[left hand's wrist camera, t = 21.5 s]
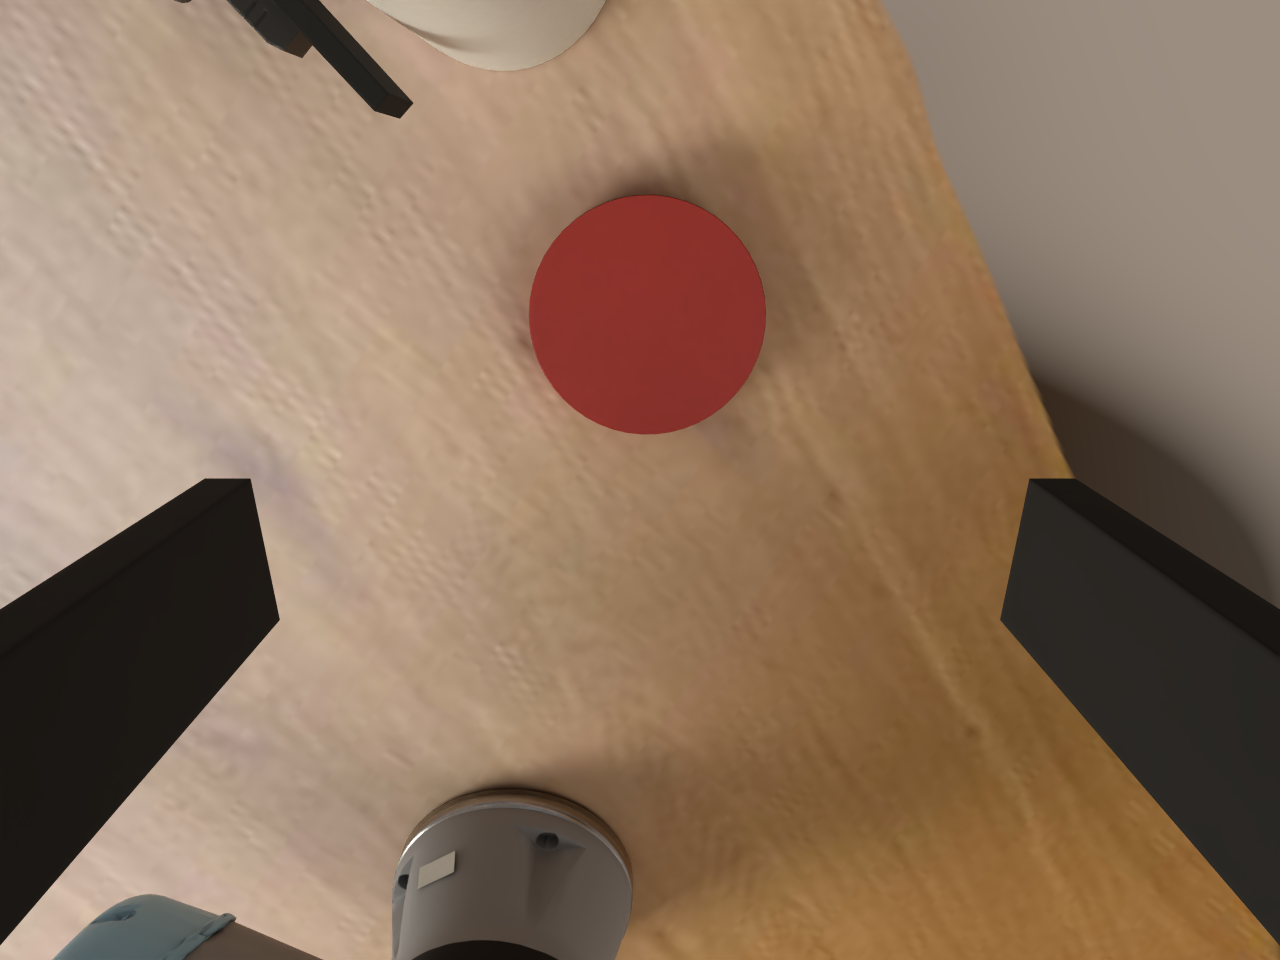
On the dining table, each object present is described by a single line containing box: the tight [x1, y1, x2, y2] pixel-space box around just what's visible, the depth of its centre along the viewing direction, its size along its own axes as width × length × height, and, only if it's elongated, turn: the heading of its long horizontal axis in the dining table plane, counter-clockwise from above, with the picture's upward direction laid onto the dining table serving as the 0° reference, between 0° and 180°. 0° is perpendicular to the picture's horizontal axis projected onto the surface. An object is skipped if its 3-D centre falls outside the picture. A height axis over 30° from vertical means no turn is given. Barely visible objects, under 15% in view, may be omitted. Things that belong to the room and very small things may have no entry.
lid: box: [529, 195, 766, 434], centre depth 34 cm, size 11×11×2 cm
